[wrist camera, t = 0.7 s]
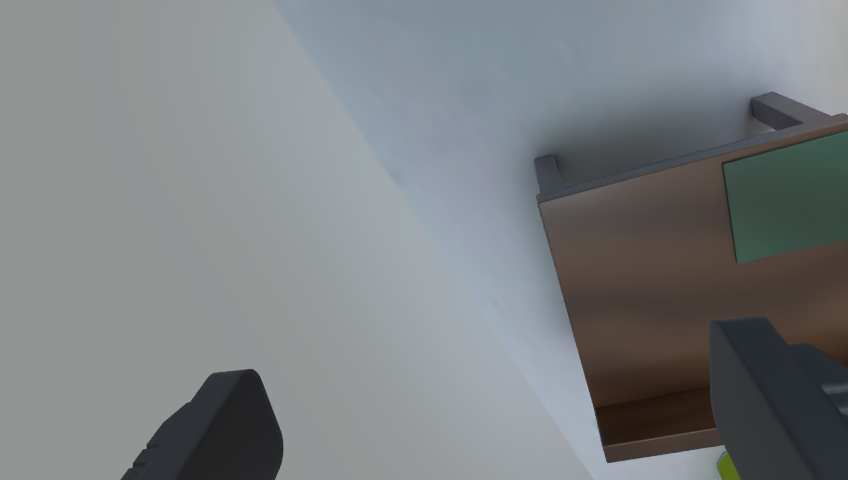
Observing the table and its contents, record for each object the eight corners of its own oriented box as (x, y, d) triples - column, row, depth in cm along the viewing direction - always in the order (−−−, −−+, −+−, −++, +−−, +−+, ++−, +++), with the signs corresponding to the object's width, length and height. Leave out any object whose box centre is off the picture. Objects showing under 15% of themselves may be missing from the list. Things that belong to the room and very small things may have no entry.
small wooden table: (529, 156, 36) (541, 227, 26) (777, 86, 32) (901, 135, 23) (580, 344, 41) (607, 463, 31) (799, 299, 37) (909, 416, 27)
